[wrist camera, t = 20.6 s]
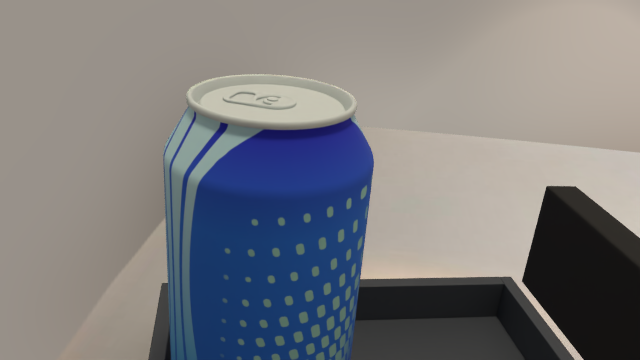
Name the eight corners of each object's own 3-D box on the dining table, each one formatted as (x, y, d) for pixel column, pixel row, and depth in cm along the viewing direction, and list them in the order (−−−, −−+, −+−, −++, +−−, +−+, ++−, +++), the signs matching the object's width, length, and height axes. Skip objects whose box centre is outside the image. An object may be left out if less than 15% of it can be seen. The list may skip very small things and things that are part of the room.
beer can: (287, 332, 35) (304, 63, 28) (378, 430, 29) (426, 114, 22) (147, 383, 30) (129, 77, 24) (219, 513, 24) (221, 146, 18)
